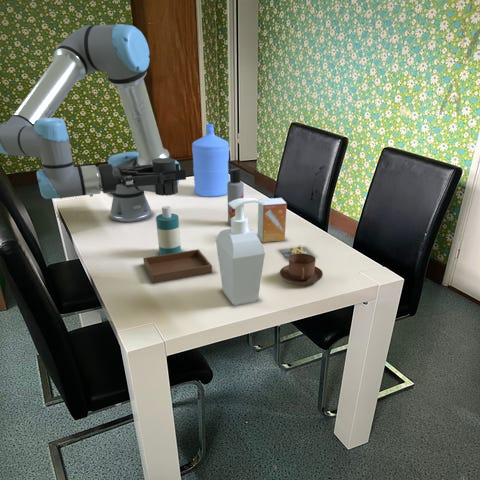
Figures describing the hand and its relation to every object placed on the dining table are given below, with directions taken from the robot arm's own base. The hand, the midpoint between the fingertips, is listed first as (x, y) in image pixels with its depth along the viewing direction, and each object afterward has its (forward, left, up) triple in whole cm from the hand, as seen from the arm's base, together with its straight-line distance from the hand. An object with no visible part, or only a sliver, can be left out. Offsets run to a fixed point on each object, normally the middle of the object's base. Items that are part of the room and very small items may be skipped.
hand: (181, 171), depth 133 cm
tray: (+8, -6, -26) cm, 28 cm away
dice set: (+12, +32, -26) cm, 43 cm away
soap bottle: (+31, +6, -26) cm, 41 cm away
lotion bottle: (-21, +24, -26) cm, 42 cm away
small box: (-3, +30, -26) cm, 40 cm away
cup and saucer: (+28, +25, -26) cm, 46 cm away
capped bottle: (-4, -5, -26) cm, 27 cm away
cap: (0, -5, -5) cm, 7 cm away
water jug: (-63, +29, -26) cm, 74 cm away
